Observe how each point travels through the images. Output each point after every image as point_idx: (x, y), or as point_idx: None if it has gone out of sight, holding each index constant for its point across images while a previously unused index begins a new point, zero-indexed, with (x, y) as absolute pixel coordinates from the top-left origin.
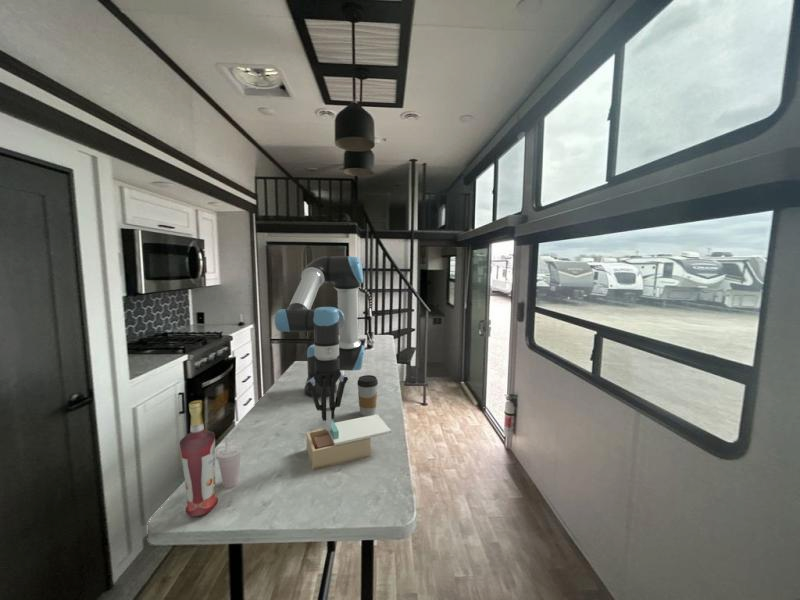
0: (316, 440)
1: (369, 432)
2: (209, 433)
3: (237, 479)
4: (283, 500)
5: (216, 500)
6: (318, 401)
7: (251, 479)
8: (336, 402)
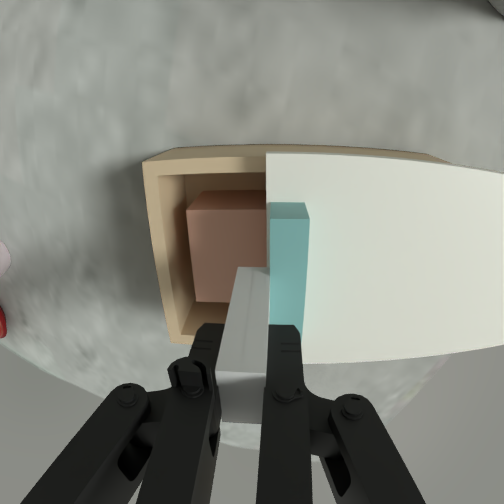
0: (195, 241)
1: (442, 335)
2: None
3: (4, 269)
4: (120, 363)
5: (1, 323)
6: (128, 498)
7: (31, 258)
8: (334, 449)
